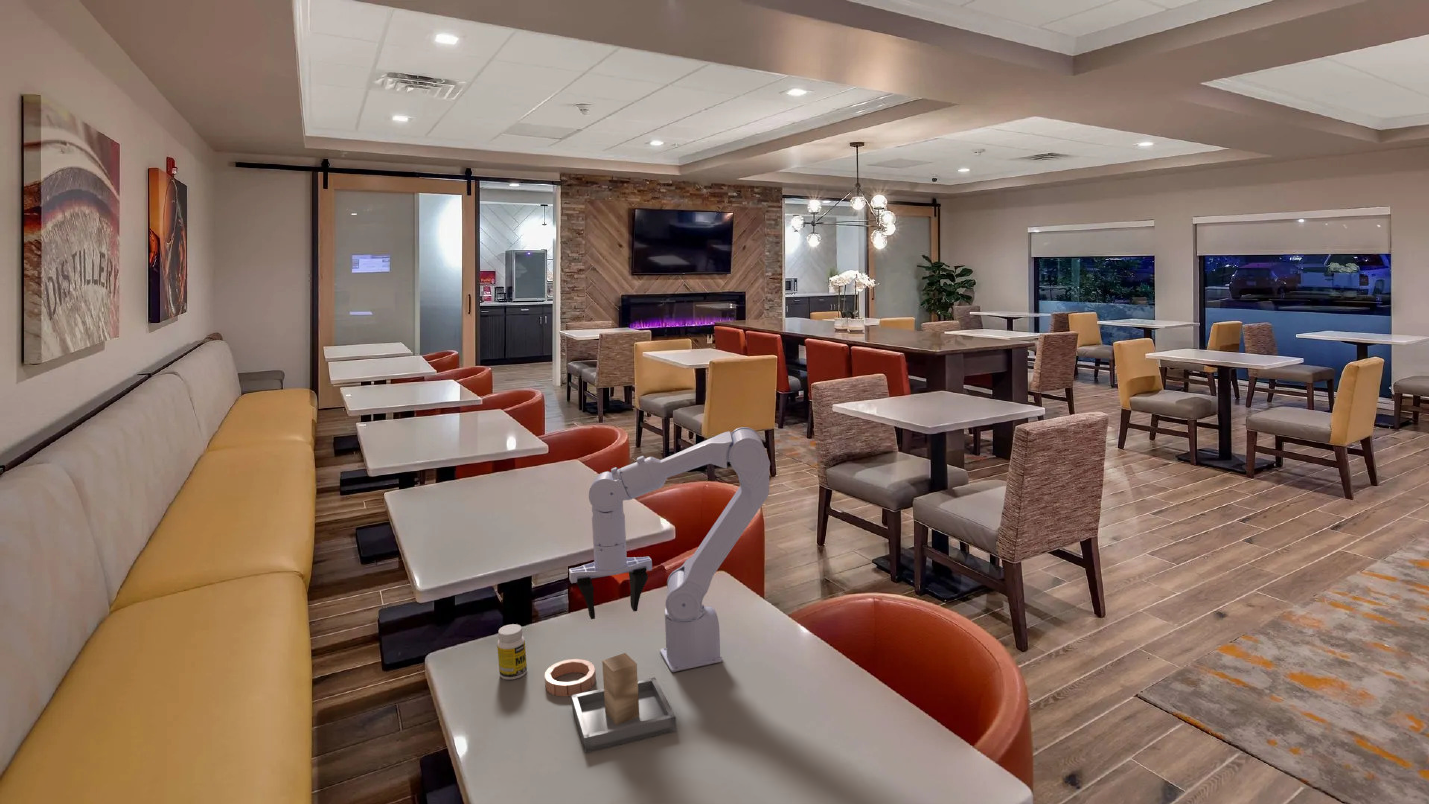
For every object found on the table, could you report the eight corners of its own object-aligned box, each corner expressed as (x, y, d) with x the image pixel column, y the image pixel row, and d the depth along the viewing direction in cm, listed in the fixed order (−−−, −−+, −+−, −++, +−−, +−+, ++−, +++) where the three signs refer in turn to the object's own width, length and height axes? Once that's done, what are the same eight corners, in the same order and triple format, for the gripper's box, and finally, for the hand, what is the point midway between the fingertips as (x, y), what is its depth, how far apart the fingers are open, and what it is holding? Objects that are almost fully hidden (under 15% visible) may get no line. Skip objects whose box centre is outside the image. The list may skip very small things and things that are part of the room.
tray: (655, 690, 126) (655, 677, 125) (676, 730, 115) (675, 716, 114) (572, 708, 121) (571, 695, 121) (585, 752, 110) (584, 738, 110)
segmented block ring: (590, 665, 134) (589, 655, 134) (599, 689, 127) (598, 679, 126) (543, 675, 132) (542, 664, 131) (549, 700, 124) (548, 689, 123)
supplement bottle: (519, 681, 130) (516, 636, 128) (494, 679, 131) (490, 634, 129) (531, 667, 134) (528, 623, 133) (507, 665, 135) (503, 622, 134)
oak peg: (628, 704, 121) (625, 652, 119) (639, 716, 117) (636, 663, 116) (605, 712, 119) (602, 660, 117) (616, 725, 115) (613, 671, 114)
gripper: (643, 527, 138) (646, 596, 140) (564, 539, 133) (569, 610, 135) (654, 540, 131) (656, 612, 133) (571, 553, 126) (575, 627, 129)
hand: (613, 612), depth 134 cm, fingers open, 7 cm apart
